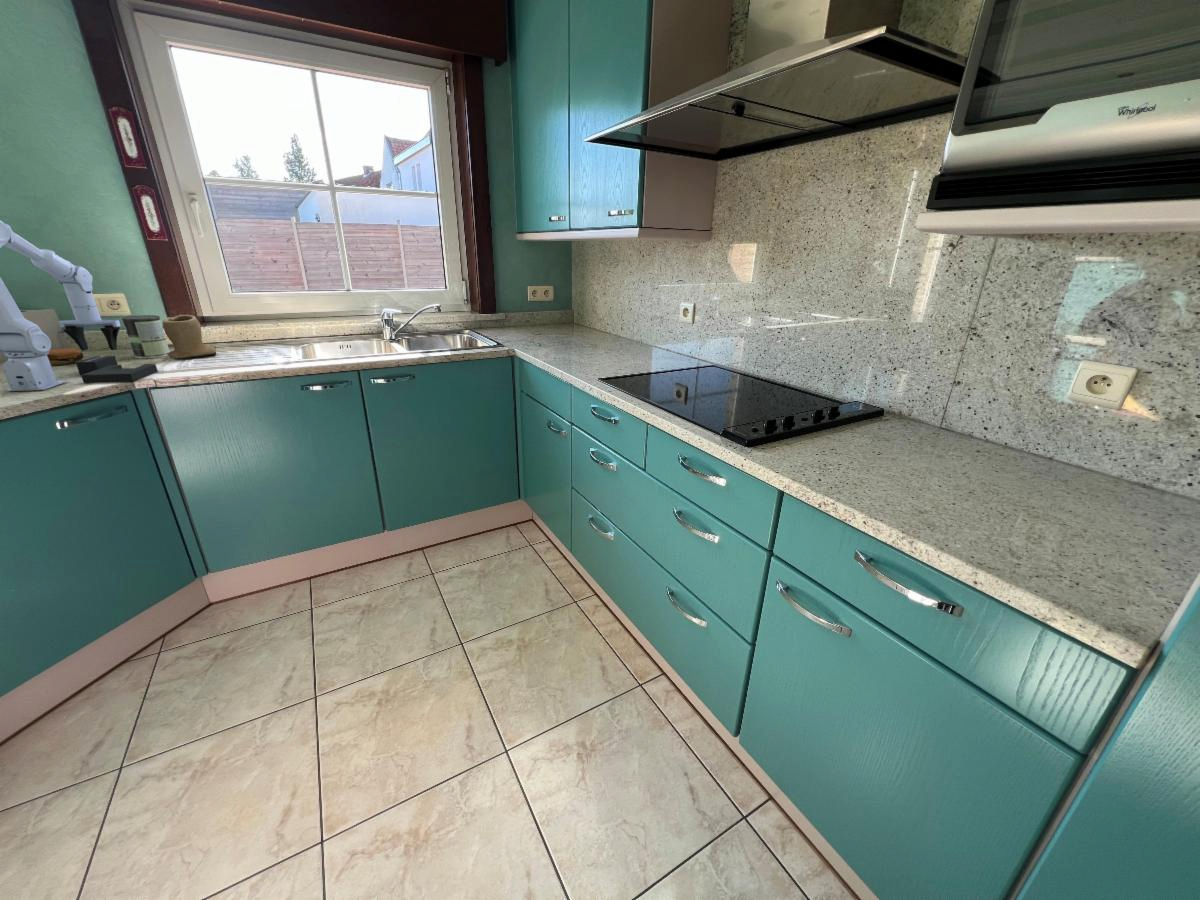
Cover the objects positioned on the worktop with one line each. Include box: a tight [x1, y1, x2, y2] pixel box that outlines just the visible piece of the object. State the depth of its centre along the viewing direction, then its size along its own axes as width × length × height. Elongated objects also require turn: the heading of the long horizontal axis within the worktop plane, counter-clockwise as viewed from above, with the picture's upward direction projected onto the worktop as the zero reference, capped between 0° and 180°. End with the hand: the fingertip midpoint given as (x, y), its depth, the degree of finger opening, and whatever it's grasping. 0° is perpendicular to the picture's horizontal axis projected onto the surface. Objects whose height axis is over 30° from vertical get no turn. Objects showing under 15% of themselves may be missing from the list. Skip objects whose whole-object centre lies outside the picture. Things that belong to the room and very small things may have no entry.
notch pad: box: [80, 363, 159, 384], centre depth 151 cm, size 14×12×2 cm
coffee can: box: [121, 314, 171, 360], centre depth 178 cm, size 10×10×14 cm
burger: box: [47, 347, 86, 366], centre depth 167 cm, size 10×9×5 cm
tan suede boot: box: [161, 314, 217, 359], centre depth 179 cm, size 15×12×15 cm
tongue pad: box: [75, 355, 119, 376], centre depth 157 cm, size 10×5×4 cm, turn 16°
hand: (99, 349), depth 159 cm, fingers open, 7 cm apart
